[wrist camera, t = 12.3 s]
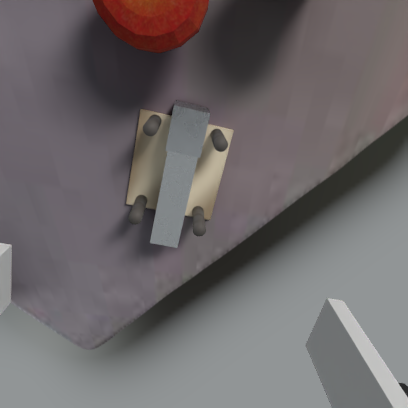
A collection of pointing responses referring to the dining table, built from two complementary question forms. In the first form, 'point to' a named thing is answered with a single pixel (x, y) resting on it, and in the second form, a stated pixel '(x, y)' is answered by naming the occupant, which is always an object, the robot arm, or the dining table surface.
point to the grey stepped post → (179, 170)
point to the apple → (153, 21)
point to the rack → (155, 162)
